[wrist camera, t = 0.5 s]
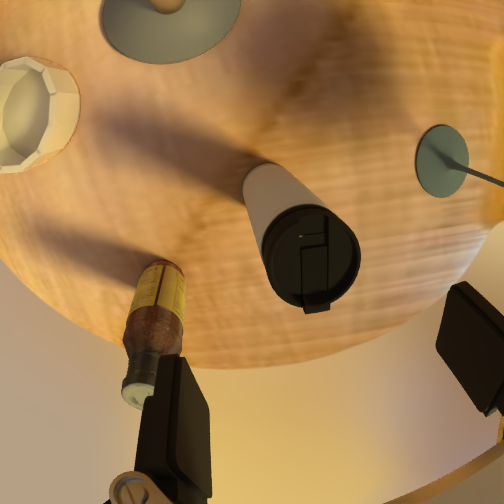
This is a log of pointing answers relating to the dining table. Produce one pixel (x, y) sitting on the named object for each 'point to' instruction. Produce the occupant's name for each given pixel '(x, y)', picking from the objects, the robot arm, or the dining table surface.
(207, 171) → the dining table surface
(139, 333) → the sauce bottle
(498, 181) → the cocktail glass
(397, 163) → the dining table surface
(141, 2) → the lid
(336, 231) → the travel mug
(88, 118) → the dining table surface
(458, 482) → the robot arm
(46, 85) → the bowl
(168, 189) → the dining table surface
